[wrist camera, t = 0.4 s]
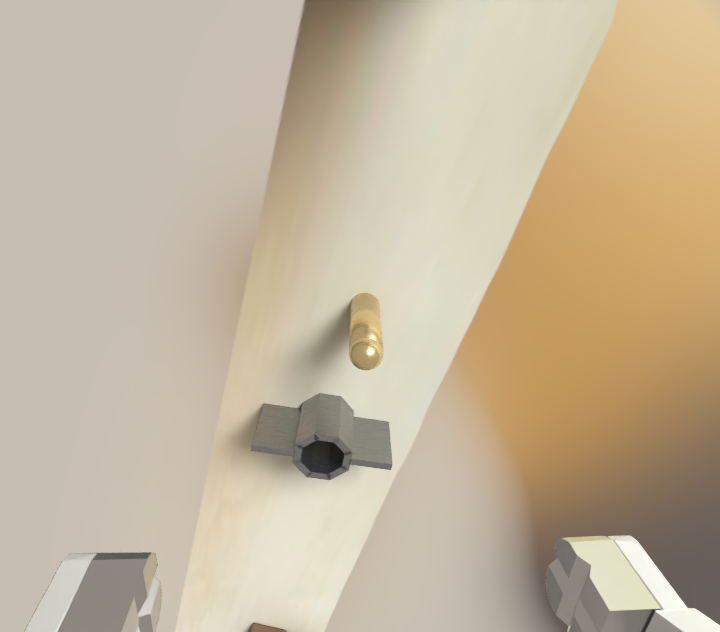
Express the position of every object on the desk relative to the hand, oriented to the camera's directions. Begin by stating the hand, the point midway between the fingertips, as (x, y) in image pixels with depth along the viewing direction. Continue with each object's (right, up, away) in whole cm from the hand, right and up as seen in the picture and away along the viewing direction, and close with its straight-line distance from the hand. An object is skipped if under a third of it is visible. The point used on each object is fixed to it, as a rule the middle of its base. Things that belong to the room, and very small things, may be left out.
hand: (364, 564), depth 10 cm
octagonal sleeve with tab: (-4, -7, +47) cm, 48 cm away
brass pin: (0, +6, +41) cm, 41 cm away
